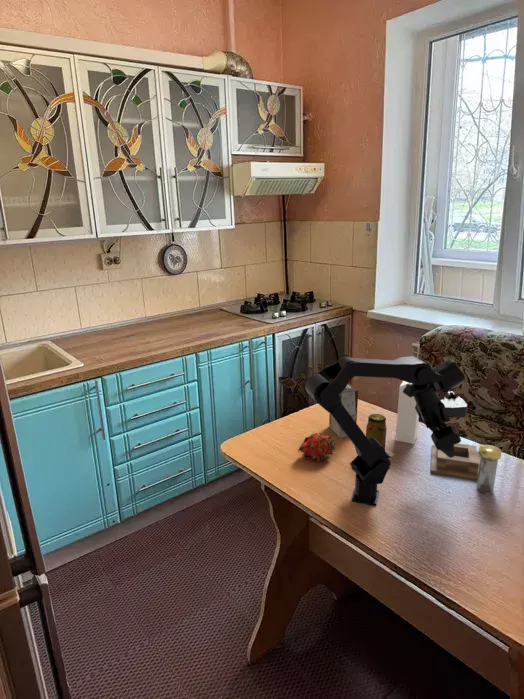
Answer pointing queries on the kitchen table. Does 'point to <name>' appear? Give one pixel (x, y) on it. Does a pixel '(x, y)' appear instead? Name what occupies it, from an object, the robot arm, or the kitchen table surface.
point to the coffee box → (350, 404)
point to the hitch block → (456, 462)
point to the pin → (487, 467)
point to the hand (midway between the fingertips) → (445, 446)
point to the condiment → (377, 430)
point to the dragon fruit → (317, 446)
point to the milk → (406, 417)
